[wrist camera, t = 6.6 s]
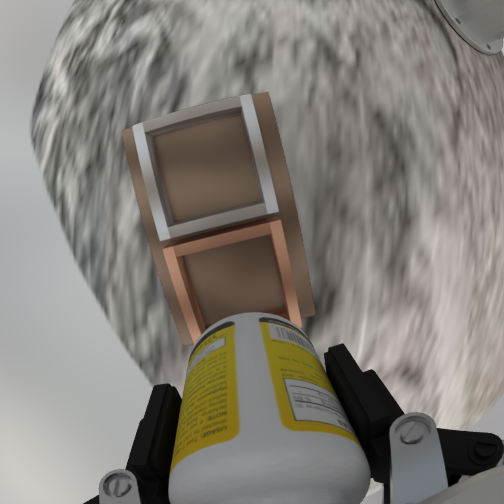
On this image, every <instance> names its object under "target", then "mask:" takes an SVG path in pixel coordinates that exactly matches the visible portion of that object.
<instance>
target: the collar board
mask: <svg viewBox="0 0 504 504" xmlns="http://www.w3.org/2000/svg"><path fill="white" fill-rule="evenodd" d="M122 136H123V141H124V146H125V151H126V155H127V160H128V165H129V169H130V173H131V178H132V182H133V186H134V190H135V194H136V198H137V202H138V206H139V210H140V213H141V217H142V221H143V224H144V228H145V232H146V235H147V239H148V242H149V245H150V249H151V252H152V255H153V259H154V262H155V265H156V268H157V271H158V274H159V277H160V281H161V284H162V287H163V290H164V293H165V295H166V298H167V301H168V304H169V307H170V310H171V313H172V315H173V318H174V321H175V324H176V326H177V329H178V332H179V334H180V337H181V339H182V342H183V345H187V344H192V343H194V345H195V343H196V341H197V340H198V338H199V337H200V336H201V335H202V334H203V332H204V331H206V330H207V329H208V328H209V327H210V326H212V325H213V324H215V323H217V322H218V321H220V320H222V319H224V318H227V317H229V316H233V315H236V314H241V313H250V312H262V313H269V314H273V315H277V316H280V317H283V318H285V319H287V320H289V321H290V322H292V323H294V324H295V325H296V326H298V327H299V328H301V327H302V323H301V319H302V318H305V317H309V316H313V315H316V313H315V307H314V301H313V295H312V289H311V283H310V278H309V272H308V267H307V261H306V256H305V250H304V245H303V240H302V235H301V230H300V225H299V220H298V215H297V210H296V206H295V201H294V196H293V192H292V187H291V183H290V178H289V174H288V169H287V165H286V161H285V156H284V152H283V148H282V144H281V140H280V136H279V131H278V127H277V123H276V119H275V116H274V112H273V108H272V104H271V100H270V96H269V93H268V92H265V93H259V94H254V95H251V94H246V95H241V96H236V97H232V98H227V99H223V100H218V101H214V102H210V103H206V104H202V105H198V106H194V107H191V108H187V109H183V110H180V111H177V112H173V113H170V114H166V115H163V116H160V117H157V118H154V119H151V120H148V121H145V122H142V123H139V124H136V125H133V126H132V128H129V129H126V130H124V131H122Z"/></svg>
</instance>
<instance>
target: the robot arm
mask: <svg viewBox="0 0 504 504" xmlns="http://www.w3.org/2000/svg"><path fill="white" fill-rule="evenodd" d="M435 1H436V3H437V5H438V7H439V8H440V10H441V11H442V13H443V15H444V16H445V18H446V19H447V20H448V22H449V23H450V24H451V25H452V27H453V28H454V29H455V30H456V31H457V32H458V33H459V35H460V36H461V37H462V38H463V39H464V40H466V41H467V42H468V43H469V44H470V45H472V46H473V47H474V48H476V49H477V50H479V51H481V52H482V53H485V54H490V55H492V54H496V53H498V52H500V51H501V49H502V46H503V38H504V0H435ZM324 359H325V366H326V373H327V376H328V378H329V380H330V382H331V384H332V386H333V388H334V390H335V392H336V394H337V396H338V398H339V401H340V403H341V405H342V407H343V409H344V411H345V413H346V415H347V417H348V419H349V421H350V424H351V426H352V428H353V430H354V432H355V434H356V436H357V438H358V440H359V442H360V444H361V446H362V448H363V450H364V453H365V455H366V458H367V461H368V464H369V467H370V472H371V478H373V479H374V481H375V482H379V483H382V504H504V440H501V439H500V438H499V437H498V436H497V435H495V434H492V433H483V432H469V431H459V430H449V429H441V428H436V424H435V422H434V420H433V419H432V418H431V417H430V416H428V415H426V414H424V413H419V412H414V413H408V414H404V412H403V411H402V409H401V408H400V406H399V405H398V404H397V402H396V401H395V399H394V398H393V396H392V395H391V394H390V392H389V391H388V389H387V388H386V387H385V385H384V384H383V382H382V381H381V379H380V378H379V377H378V375H377V374H376V372H375V371H374V370H372V369H371V370H368V371H365V372H362V371H361V369H360V368H359V366H358V365H357V363H356V362H355V360H354V359H353V357H352V356H351V354H350V353H349V351H348V350H347V348H346V347H345V345H344V344H343V343H342V344H339V345H336V346H333V347H329V348H328V352H326V353H324ZM181 403H182V399H181V397H180V395H179V393H178V391H177V389H176V387H175V386H172V387H171V385H170V384H168V383H167V384H160V385H155V386H154V387H153V390H152V394H151V396H150V399H149V403H148V406H147V409H146V412H145V415H144V418H143V419H142V420H141V421H140V423H139V426H138V430H137V433H136V436H135V439H134V442H133V445H132V449H131V452H130V456H129V459H128V462H127V466H126V469H125V470H124V469H118V470H114V471H111V472H109V473H107V474H106V475H105V476H104V477H103V478H102V479H101V481H100V484H99V495H97V496H96V497H94V498H93V499H90V500H89V501H87V502H85V503H84V504H170V500H169V494H168V489H169V476H170V469H171V463H172V457H173V451H174V445H175V439H176V432H177V426H178V421H179V414H180V408H181Z"/></svg>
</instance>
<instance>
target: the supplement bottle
mask: <svg viewBox="0 0 504 504" xmlns="http://www.w3.org/2000/svg"><path fill="white" fill-rule="evenodd" d="M370 479H371V472H370V467H369V464H368V461H367V458H366V455H365V453H364V450H363V448H362V446H361V444H360V442H359V440H358V438H357V436H356V434H355V432H354V430H353V428H352V426H351V424H350V421H349V419H348V417H347V415H346V413H345V411H344V409H343V407H342V405H341V403H340V401H339V398H338V396H337V394H336V392H335V390H334V388H333V386H332V384H331V382H330V380H329V378H328V376H327V374H326V372H325V370H324V368H323V365H322V363H321V361H320V359H319V357H318V355H317V353H316V351H315V349H314V347H313V345H312V343H311V342H310V340H309V339H308V337H307V336H306V335H305V333H304V332H303V331H302V330H301V329H300V328H299V327H298V326H296V325H295V324H294V323H292V322H290V321H289V320H287V319H285V318H283V317H280V316H277V315H273V314H269V313H262V312H250V313H241V314H236V315H233V316H229V317H227V318H224V319H222V320H220V321H218V322H217V323H215V324H213V325H212V326H210V327H209V328H208V329H207V330H206V331H204V332H203V334H202V335H201V336H200V337H199V338H198V340H197V341H196V343H195V345H194V347H193V349H192V352H191V355H190V358H189V363H188V368H187V373H186V379H185V386H184V391H183V397H182V403H181V408H180V414H179V421H178V426H177V432H176V439H175V445H174V451H173V457H172V463H171V469H170V476H169V489H168V494H169V500H170V504H360V503H361V502H362V501H363V499H364V497H365V496H366V493H367V491H368V489H369V485H370Z"/></svg>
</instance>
